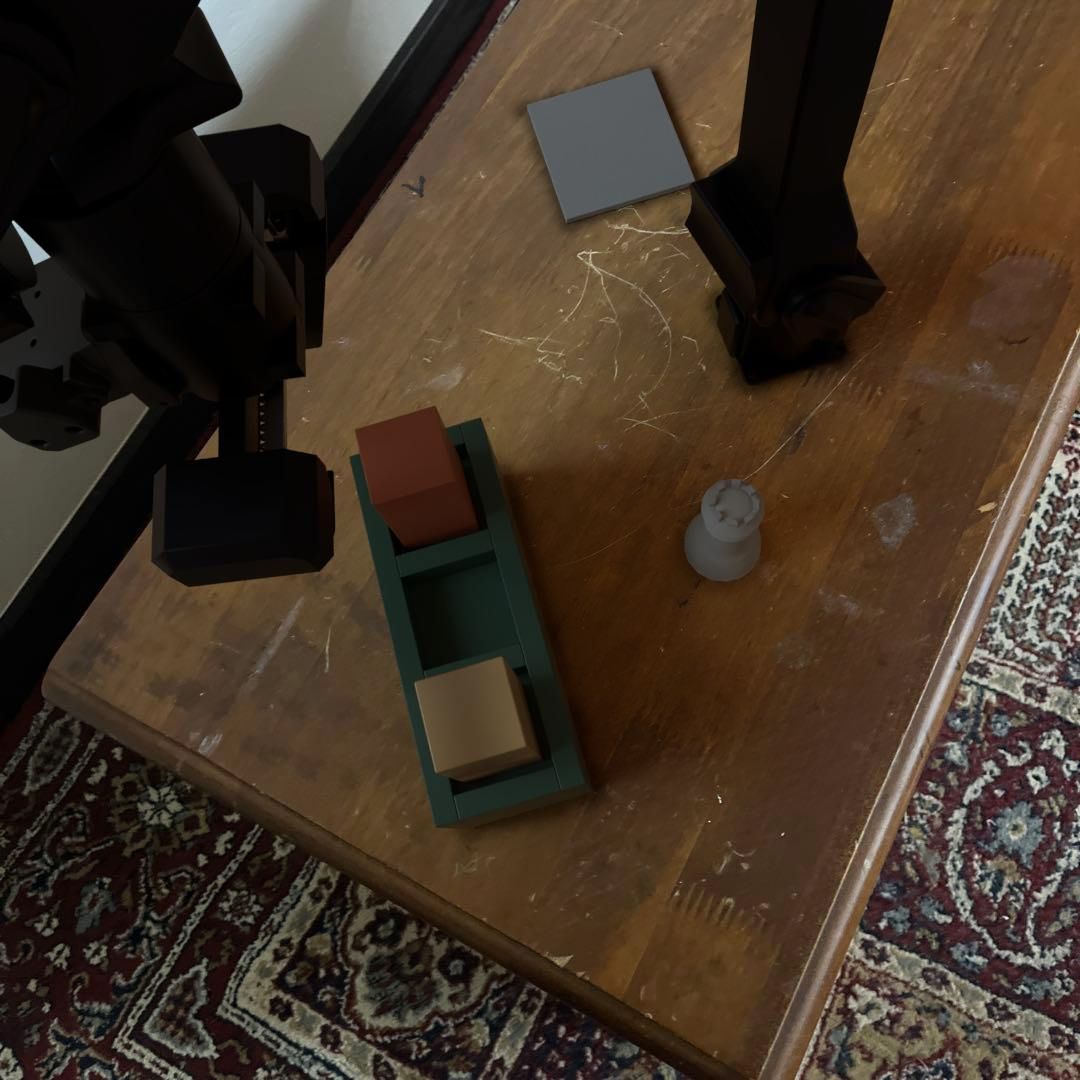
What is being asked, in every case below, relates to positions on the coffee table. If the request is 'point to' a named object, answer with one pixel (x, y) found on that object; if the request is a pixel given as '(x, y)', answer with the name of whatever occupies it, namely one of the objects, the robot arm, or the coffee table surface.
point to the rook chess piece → (726, 531)
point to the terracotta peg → (417, 479)
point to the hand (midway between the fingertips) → (313, 431)
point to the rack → (475, 638)
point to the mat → (610, 145)
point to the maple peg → (478, 721)
